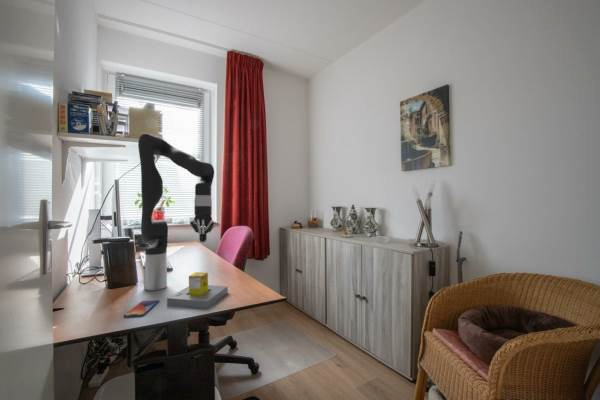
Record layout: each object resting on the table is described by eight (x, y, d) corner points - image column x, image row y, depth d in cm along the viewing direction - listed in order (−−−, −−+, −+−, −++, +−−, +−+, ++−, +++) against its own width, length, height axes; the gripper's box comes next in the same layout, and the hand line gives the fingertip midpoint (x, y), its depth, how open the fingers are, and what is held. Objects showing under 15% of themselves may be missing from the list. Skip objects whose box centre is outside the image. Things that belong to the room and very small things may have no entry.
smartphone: (160, 302, 115) (160, 300, 115) (143, 317, 100) (143, 314, 100) (142, 303, 114) (142, 300, 114) (122, 318, 99) (122, 315, 99)
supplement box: (208, 296, 120) (208, 272, 120) (202, 301, 114) (201, 276, 114) (195, 296, 120) (195, 271, 120) (188, 301, 114) (188, 275, 114)
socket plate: (167, 305, 110) (167, 297, 110) (192, 290, 128) (192, 283, 128) (206, 308, 106) (206, 301, 106) (227, 292, 124) (227, 286, 124)
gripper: (185, 204, 123) (185, 242, 123) (211, 205, 120) (211, 243, 120) (195, 204, 130) (195, 239, 130) (220, 204, 127) (219, 241, 127)
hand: (203, 241), depth 125 cm, fingers closed
